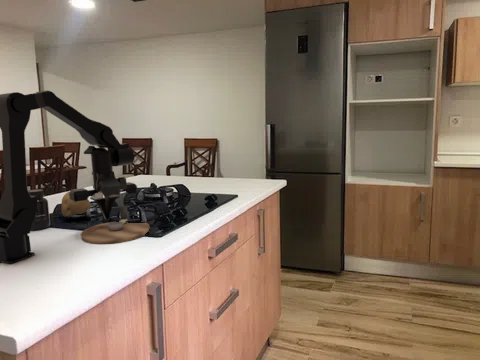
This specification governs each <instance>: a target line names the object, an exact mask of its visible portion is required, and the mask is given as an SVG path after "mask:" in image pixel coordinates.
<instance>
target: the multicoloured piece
mask: <svg viewBox="0 0 480 360" xmlns="http://www.w3.org/2000/svg"><path fill="white" fill-rule="evenodd" d="M119 211H120V212H119V213H120V219H119V222H116V221H111V222H112V223H109V222H108V223H109V224H108V226H109V230H120V229H123V223H125V222H126V221H128V219H129V217H128V206H127V205H121V206H120V207H119Z"/></svg>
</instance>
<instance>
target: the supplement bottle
mask: <svg viewBox="0 0 480 360" xmlns="http://www.w3.org/2000/svg"><path fill="white" fill-rule="evenodd" d="M28 192H29V194H30V195H31V196H37V209H38V211H39V213H36V218H35V221H33V222H32V226H31V230H30V231H40V230H41V231H42V230H45V229H48V228H50V227H51V219H50V218H51V217H50V209H49V201H48V199H47V198H46V197H45V194H44V189H30V190H28Z"/></svg>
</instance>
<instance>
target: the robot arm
mask: <svg viewBox="0 0 480 360" xmlns="http://www.w3.org/2000/svg"><path fill="white" fill-rule="evenodd" d="M40 109H44V110H45V111H46V112H48V113H50V114H51V115H53V116H54V117H56V118H57V119H59V120H60V121H62V122H63V123H65V124H66V125H68V126H70V127H71V128H73V129H74V130H76V131H77V132H78V134H79V136H80V137H81V138H82V139H83V140H84V141H85V142H86V143H87V144H88V147H87V148H86V149H85V150H84V151H83V154H84V155H90V158H91V159H90V160H91V161H90V162H91V169H92V170H91V175H92V181H93V182H92V183H93V184H92V189H89V190H88V189H86V188H83V187H82V188H74V189H70V190H69V191H70V192H69V191H68V192H69V196H70V199H71V200H73V201H83V200H87V199H88V200H92V201H93V202H95V204H96V205H97V206H98V208H99V211H100V212H101V214H102V215H103V218H104V219H105V220H106V221H107V220H109V219H110V215H111V213H112V212H111V211H112V208H113V205H114V203H115V202H116V200H117V199H119V198H120V195H121V193H123V192H124V193H127V194H128V195H130V194H137V193H138V190H139V189H138V186H137V184H135V183H134V182H129V181H128V182H127V178H126V177H125V176H122V177H121V176H120V177H118V178H116V175H115V171H114V170H113V167H120V166H128V165H132V164H133V163H134V162H135V153H134V151H133V149H132V147H130V144H129V143H128V142H126V143H121V142H120V141H119V140H118V139H117V137H116V136H115V134H114V130H113V129H112V128H111V127H110V126H109V125H106V124H104V123H102V122H99V121H95V120H92V119H91V118H88V117H87V116H86V115H84V114H83V113H82V112H80V111H78V110H77V109H75V108H74V107H73V106H71V105H70V104H68V103H67V102H66V101H64V100H63V99H61V98H60V97H59V96H58V95H56V94H55V93H54V92H53V91H51V90H41V91H40V90H39V91H35V92H34V93H29V94H28V93H27V94H23V93H21V92H14V91H13V92H5V93H1V94H0V130H1V138H2V139H1V140H2V142H1V144H2V159H3V160H2V161H3V162H2V163H3V177H4V179H3V180H4V191H3V194H2V196H1V198H0V263H7V264H14V263H17V262H19V261H22V260H25V259H26V258H29V257H33V256H35V252H34V251H32V246H31V241H30V235H29V234H31V231H32V230H31V226H32V222H33V221H35V218H36V213H39V211H38V209H37V196H31V195H30V194H29V192H28V191H29V190H28V177H27V174H28V173H27V155H26V138H25V137H26V134H25V132H26V129H27V126H28V125H29V122H30V119H31V118H30V117H31V111H34V110H40ZM95 146H96V147H95Z"/></svg>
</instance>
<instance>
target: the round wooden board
mask: <svg viewBox="0 0 480 360" xmlns="http://www.w3.org/2000/svg"><path fill="white" fill-rule="evenodd" d="M112 222H113V221H111V222H105V223H104V222H103V223H99V224H96V225H92V226H90V227H88V228H86V229H84V230H83V231H81V233H80V236H81V240H82V242H84V243H88V244H95V245H108V244H109V245H111V244H120V243H124V242H125V243H126V242H130V241H134V240H137V239H140V238H142V237H145V236H146V235H147V234H146V233H147V232H148V231H149V229H150V224H149V223H147V222H145V223H128V222H125V223H123V229H120V230H109V226H108V224H109V223H112ZM149 232H150V231H149ZM145 234H146V235H145Z"/></svg>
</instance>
